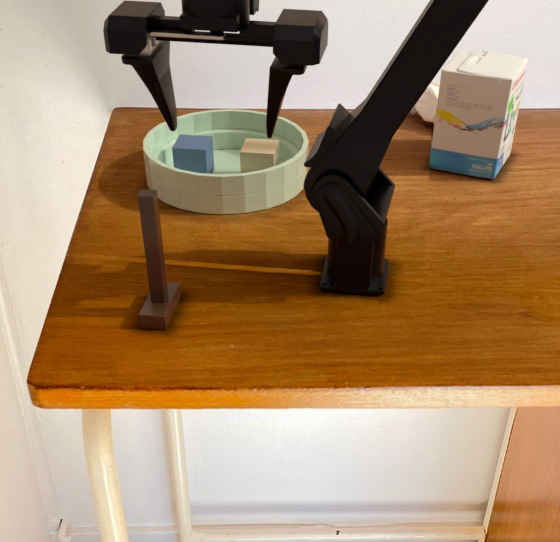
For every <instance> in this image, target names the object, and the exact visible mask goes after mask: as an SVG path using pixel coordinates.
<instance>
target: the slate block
mask: <svg viewBox="0 0 560 542" xmlns="http://www.w3.org/2000/svg"><path fill="white" fill-rule="evenodd" d="M172 153H173V164H174V167H175V168H178V169H180V170H186V171H191V172H196V173H206V174H212V173H213V171H214V153H213V137H212V136H199V135H181V134H180V135H179V137H178V139H177V140H176V142H175V144H174V145H173V147H172Z"/></svg>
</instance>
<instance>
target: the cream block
mask: <svg viewBox="0 0 560 542" xmlns="http://www.w3.org/2000/svg"><path fill="white" fill-rule="evenodd" d="M276 165H279V140H269V139H252V138H246V139H245V141H244V144H243V146H242V148H241V151H240V171H241V173H247V172H253V171H259V170H264V169H267V168H270V167H273V166H276Z"/></svg>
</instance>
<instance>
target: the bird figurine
mask: <svg viewBox="0 0 560 542" xmlns="http://www.w3.org/2000/svg"><path fill="white" fill-rule="evenodd" d="M439 86H440V82H438V81H436V80H434V79H433V80H432V82H431V83H430V84H429V86H428V87H427V89H426V90H425V92H424V93H423V94H422V96H421V97H420V99H419V100H418V102H417V103H416V104H415V106H414V107H413V109H412V111H413V113H412V114H411V116H414V115H416V114H418V115H419V116H420V117H421V118H422V120H423V121H424V122H428V123H433V124H434V123H435V116H436V108H437V101H438V93H439Z"/></svg>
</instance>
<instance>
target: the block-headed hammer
mask: <svg viewBox="0 0 560 542" xmlns="http://www.w3.org/2000/svg"><path fill="white" fill-rule="evenodd" d="M137 200H138V210H139V217H140V225H141V232H142V234H141V235H142V241H143V250H144V257H145V265H146V273H147V280H148V289H149V293H148V294H147V297H146V299H145V301H144V303H143V305H142V307H141V309H140V311H139V313H138V318H139V325H140V328H141V329H148V330H161V331H167V330H168V328H169V325H170V322H171V320H172V318H173V315H174V313H175V311H176V308H177V306H178V304H179V301H180V299H181V297H182V295H181V284H180V282H168V279H167V271H166V269H167V268H166V260H165V252H164V243H163V234H162V225H161V215H160V206H159V199H158V196H157V190H150V189H149V188H146V189H145V188H142V189H141V190H140V191H139V193H138V195H137Z"/></svg>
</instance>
